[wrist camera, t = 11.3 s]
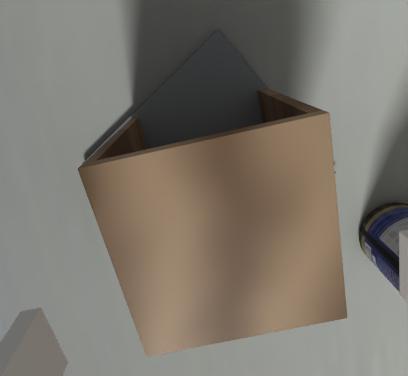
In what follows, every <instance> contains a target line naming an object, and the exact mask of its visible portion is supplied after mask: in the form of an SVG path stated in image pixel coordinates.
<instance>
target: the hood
mask: <svg viewBox="0 0 408 376" xmlns="http://www.w3.org/2000/svg"><path fill="white" fill-rule="evenodd" d="M258 97H259V103H260V110H261V116H262V122H263V124H258V125H254V126H249V127H245V128H240V129H236V130H231V131H227V132H222V133H218V134H213V135H209V136H204V137H200V138H195V139H191V140H186V141H182V142H177V143H173V144H168V145H164V146H159V147H155V148H150V149H148V148H147V145H146V141H145V138H144V134H143V131H142V127H141V124H140V120H139V117H137V118H132V119H131V120H129V121H128V122H127V123H126V124H125V125H124V126H123V127H122V128H121V129H120V130H119V131H118V132H117V133H115V134H114V135H113V136H112V137H111V138H110V139H109V140H108V141H107V142H106V143H105V144H104V145H103V146H102V147H100V148H99V149H98V150H97V151H96V152H95V153H94V154H93V155H92V156H91V157H90V158H89V159H88V160H87V161H85V162H84V163H83V164H82V165H81V166H80V167H79V168H78V171H79V174H80V177H81V179H82V182H83V185H84V188H85V190H86V193H87V196H88V199H89V201H90V204H91V207H92V209H93V212H94V215H95V218H96V220H97V223H98V226H99V228H100V231H101V234H102V237H103V239H104V242H105V245H106V248H107V250H108V253H109V256H110V258H111V261H112V264H113V267H114V269H115V272H116V275H117V277H118V280H119V283H120V286H121V288H122V291H123V294H124V297H125V299H126V302H127V305H128V307H129V310H130V313H131V316H132V318H133V321H134V324H135V326H136V329H137V332H138V335H139V337H140V340H141V343H142V346H143V348H144V351H145V354H146V356H152V355H158V354H163V353H168V352H173V351H178V350H183V349H189V348H194V347H199V346H204V345H209V344H215V343H220V342H225V341H230V340H235V339H240V338H246V337H251V336H256V335H261V334H266V333H272V332H277V331H282V330H287V329H292V328H297V327H303V326H308V325H313V324H318V323H323V322H329V321H334V320H339V319H344V318H347V309H346V298H345V286H344V275H343V264H342V252H341V241H340V229H339V218H338V206H337V195H336V184H335V172H334V161H333V149H332V138H331V126H330V115H329V112H326V111H323V110H321V109H318V108H315V107H313V106H310V105H308V104H305V103H302V102H300V101H297V100H294V99H292V98H289V97H287V96H284V95H281V94H279V93H276V92H274V91H271V90H268V89H266V88H264V89H260V90H258Z"/></svg>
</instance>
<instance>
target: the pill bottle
mask: <svg viewBox="0 0 408 376" xmlns="http://www.w3.org/2000/svg"><path fill="white" fill-rule="evenodd" d="M404 230H408V204H403V203H392V204H388V205H384V206H382V207H379V208H378V209H376V210H375V211H373V212H372V213H371V214H370V215H369V216H368V217H367V218H366V220H365V221H364V223H363V225H362V227H361V231H360V235H359V241H360V246H361V248H362V250H363V252H364V253H365V254H366V256H367V257H368V258H369V259H370V260H371V261H372V262H373V263H374V265H375V266H376V267H377V268H378V269H379V270H380V271H381V272H382V273H383V275H384V276H385V277H386V278H387V279H388V280H389V281H390V282H391V283H392V285H393V286H394V287H395V288H396V289H397V290H398V291H399V292H400V283H399V231H404Z"/></svg>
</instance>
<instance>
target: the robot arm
mask: <svg viewBox="0 0 408 376" xmlns="http://www.w3.org/2000/svg"><path fill="white" fill-rule="evenodd" d="M399 283H400V295H401V296H402V297H403V298H404V299H405V301H406V302H407V303H408V230H404V231H399ZM67 363H68V362H67V360H66V358H65V356H64V354H63V351H62V349H61V347H60V345H59V343H58V341H57V339H56V337H55V335H54V333H53V331H52V329H51V327H50V325H49V323H48V321H47V319H46V317H45V315H44V313H43V311H42V309H41V308H36V309H31V310H26V311H22V312H20V314H19V315H18V317H17V318H16V320H15V321H14V323H13V324H12V326H11V327H10V329H9V330H8V332H7V333H6V335H5V337H4V338H3V340H2V341H1V343H0V376H63V373H64V371H65V368H66V366H67Z"/></svg>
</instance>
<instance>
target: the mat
mask: <svg viewBox="0 0 408 376" xmlns="http://www.w3.org/2000/svg"><path fill="white" fill-rule="evenodd" d="M264 88H266V89H267V87H266V86H265V85H264V84H263V82H262V81H261V80H260V79H259V77H258V76H257V75H256V74H255V73H254V71H253V70H252V69H251V68H250V66H249V65H248V64H247V63H246V61H245V60H244V59H243V58H242V57H241V55H240V54H239V53H238V52H237V50H236V49H235V48H234V47H233V45H232V44H231V43H230V42H229V40H228V39H227V38H226V37H225V36H224V34H223V33H222V32H221V31H220V29H218V30H217V31H216V32H215V33H214V34H213V35H212V36H211V37H210V38H209V39H208V40H207V41H206V42H205V43H204V44H203V45H202V46H201V47H200V48H199V49H198V50H197V51H196V52H195V53H194V54H193V55H192V56H191V57H190V58H189V59H188V60H187V61H186V62H185V63H184V64H183V65H182V66H181V67H180V68H179V69H178V70H177V71H176V72H175V73H174V74H172V75H171V76H170V77H169V78H168V79H167V80H166V81H165V82H164V83H163V84H162V85H161V86H160V87H159V88H158V89H157V90H156V91H155V92H154V93H153V94H152V95H151V96H150V97H149V98H148V99H147V100H146V101H145V102H144V103H143V104H142V105H141V106H140V107H139V108H138V109H137V110H136V111H135V112H134V113H133V114H132V115H131V116H130V117H129V118H128V119H127V120H126V121H125V122H124V123H123V124H122V125H121V126H120V127H119V128H118V129H117V130H116V131H115V132H114V133H113V134H112V135H111V136H110V137H109V138H108V139H107V140H106V141H105V142H104V143H103V144H102V145H101V146H100V147H102V146H103V145H104V144H105V143H106V142H107V141H108V140H109V139H110V138H111V137H112V136H113V135H114V134H115V133H117V132H118V131H119V130H120V129H121V128H122V127H123V126H124V125H125V124H126V123H127V122H128V121H129V120H131V119H132V118H137V117H139V120H140V124H141V127H142V131H143V134H144V138H145V141H146V145H147V148H148V149H150V148H155V147H159V146H164V145H168V144H173V143H177V142H182V141H186V140H191V139H195V138H200V137H204V136H209V135H213V134H218V133H222V132H227V131H231V130H236V129H240V128H245V127H249V126H254V125H258V124H263V122H262V116H261V110H260V103H259V97H258V90H260V89H264ZM100 147H99V148H100ZM99 148H98V149H99ZM98 149H97V150H98ZM97 150H96V151H97ZM96 151H95V152H96ZM95 152H94V153H95ZM94 153H93V154H94ZM93 154H92V155H93ZM92 155H91V156H92ZM91 156H90V157H91ZM90 157H88V158H87V159H86V160H85V161H87V160H88V159H89V158H90ZM85 161H84V162H85ZM84 162H83V163H84ZM83 163H82V164H83ZM334 172H335V171H334ZM335 173H336V172H335Z"/></svg>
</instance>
